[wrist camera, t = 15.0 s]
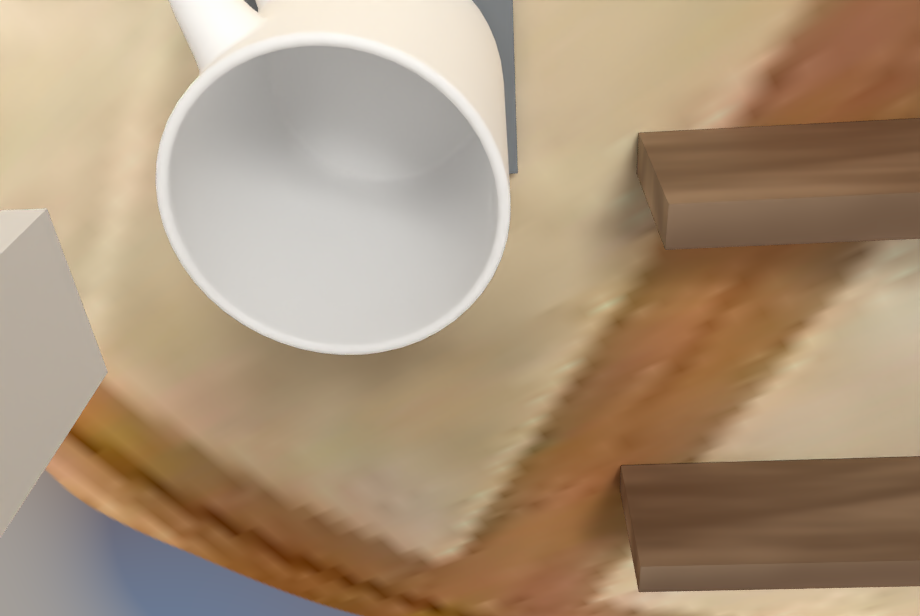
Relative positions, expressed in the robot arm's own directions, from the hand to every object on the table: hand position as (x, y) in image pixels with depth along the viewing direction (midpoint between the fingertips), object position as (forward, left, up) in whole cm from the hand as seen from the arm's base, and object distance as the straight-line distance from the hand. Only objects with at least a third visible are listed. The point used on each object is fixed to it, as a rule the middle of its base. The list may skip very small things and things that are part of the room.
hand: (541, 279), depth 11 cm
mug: (+2, -5, -19) cm, 20 cm away
